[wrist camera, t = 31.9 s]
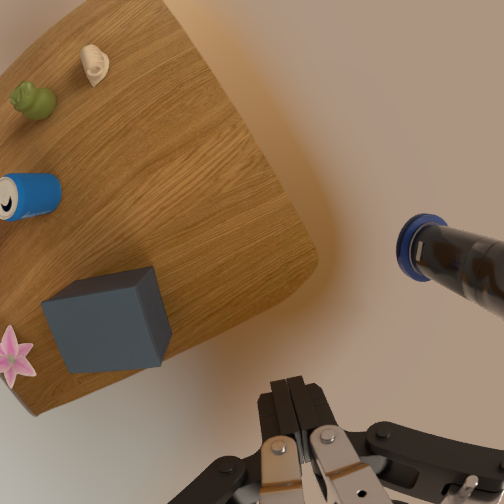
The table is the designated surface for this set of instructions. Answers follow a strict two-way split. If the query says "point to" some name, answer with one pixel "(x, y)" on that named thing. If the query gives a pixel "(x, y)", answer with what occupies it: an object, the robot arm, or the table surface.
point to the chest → (147, 294)
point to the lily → (14, 357)
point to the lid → (102, 331)
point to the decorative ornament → (94, 63)
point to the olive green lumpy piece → (33, 101)
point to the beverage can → (28, 195)
